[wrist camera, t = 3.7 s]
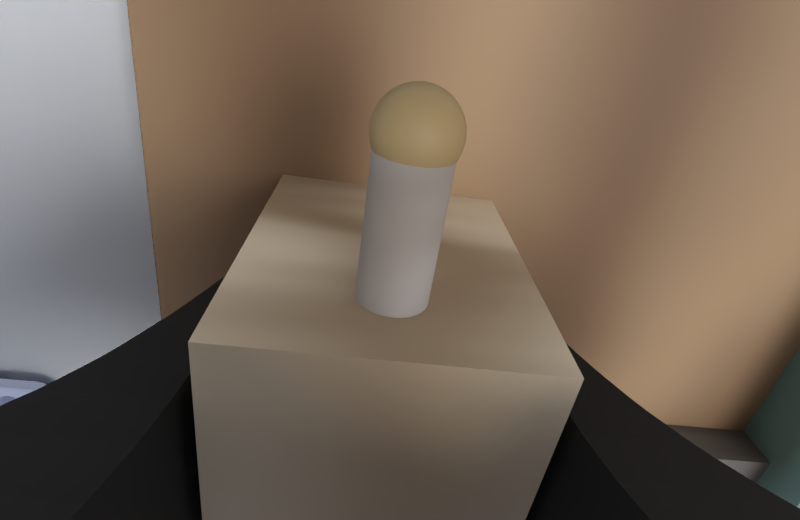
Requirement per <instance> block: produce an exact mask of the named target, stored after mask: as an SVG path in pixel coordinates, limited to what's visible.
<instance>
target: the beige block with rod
mask: <svg viewBox="0 0 800 520" xmlns="http://www.w3.org/2000/svg"><path fill="white" fill-rule="evenodd" d="M466 137H467V125H466V120H465V116H464V113H463V110H462V108H461V106H460V105H459V103H458V101H457V100H456V99H455V98H454V96H452V95H451V94H450V93H449V92H448V91H447V90H445V89H444V88H442V87H440V86H439V85H436V84H434V83H430V82H426V81H411V82H406V83H403V84H400V85H398V86H396V87H394V88H393V89H391V90H390V91H388V92H387V93H386V94H385V95H384V96H383V97H382V98H381V99H380V100H379V102H378V103H377V105H376V107H375V109H374V111H373V113H372V116H371V119H370V124H369V139H370V144H371V148H372V149H371V158H370V167H369V175H368V184H367V185H363V184H355V183H347V182H339V181H331V180H323V179H315V178H307V177H299V176H291V175H282V177H281V179H280V181H279V183H278V184H277V186H276V188H275V190H274V191H273V193H272V195H271V197H270V198H269V200H268V202H267V204H266V205H265V207H264V209H263V211H262V212H261V214H260V216H259V218H258V220H257V221H256V223H255V225H254V227H253V228H252V230H251V232H250V234H249V235H248V237H247V239H246V241H245V242H244V244H243V246H242V248H241V249H240V251H239V253H238V255H237V256H236V258H235V260H234V262H233V264H232V265H231V267H230V269H229V271H228V272H227V274H226V276H225V278H224V279H223V281H222V283H221V285H220V286H219V288H218V290H217V292H216V293H215V295H214V297H213V299H212V301H211V302H210V304H209V306H208V308H207V309H206V311H205V313H204V315H203V316H202V318H201V320H200V322H199V323H198V325H197V327H196V329H195V330H194V332H193V334H192V336H191V338H190V339H189V341H188V348H189V361H190V373H191V386H192V399H193V411H194V424H195V436H196V449H197V462H198V474H199V487H200V499H201V512H202V520H526V517H527V515H528V513H529V510H530V508H531V505H532V503H533V501H534V498H535V496H536V493H537V491H538V489H539V486H540V484H541V481H542V479H543V477H544V474H545V472H546V469H547V467H548V465H549V462H550V460H551V457H552V455H553V453H554V450H555V448H556V445H557V443H558V441H559V438H560V436H561V433H562V431H563V429H564V426H565V424H566V421H567V419H568V417H569V414H570V412H571V409H572V407H573V405H574V402H575V400H576V397H577V395H578V393H579V390H580V388H581V385H582V383H583V381H584V377H583V375H582V373H581V371H580V369H579V368H578V366H577V364H576V362H575V360H574V358H573V356H572V354H571V352H570V350H569V348H568V346H567V344H566V342H565V341H564V339H563V337H562V335H561V333H560V331H559V329H558V327H557V325H556V323H555V321H554V319H553V317H552V315H551V313H550V312H549V310H548V308H547V306H546V304H545V302H544V300H543V298H542V296H541V294H540V292H539V290H538V288H537V286H536V285H535V283H534V281H533V279H532V277H531V275H530V273H529V271H528V269H527V267H526V265H525V263H524V261H523V259H522V258H521V256H520V254H519V252H518V250H517V248H516V246H515V244H514V242H513V240H512V238H511V236H510V234H509V232H508V231H507V229H506V227H505V225H504V223H503V221H502V219H501V217H500V215H499V213H498V211H497V209H496V207H495V205H494V204H493V202H492V201H491V200H483V199H475V198H467V197H459V196H451V195H450V193H451V188H452V183H453V178H454V173H455V168H456V163H457V161H458V159H459V158H460V156H461V154H462V152H463V149H464V146H465V143H466Z"/></svg>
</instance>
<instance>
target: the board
mask: <svg viewBox="0 0 800 520" xmlns="http://www.w3.org/2000/svg"><path fill="white" fill-rule="evenodd" d="M127 6H128V16H129V25H130V34H131V43H132V53H133V62H134V71H135V80H136V89H137V99H138V108H139V117H140V126H141V135H142V145H143V154H144V163H145V172H146V182H147V191H148V200H149V209H150V218H151V228H152V237H153V246H154V255H155V265H156V274H157V283H158V292H159V301H160V311H161V320H163V319H164V318H166V317H167V316H169V315H170V314H172V313H173V312H175V311H176V310H178V309H179V308H181V307H182V306H183V305H185V304H186V303H188V302H189V301H191V300H192V299H193V298H195V297H196V296H198V295H199V294H200V293H202V292H203V291H205V290H206V289H207V288H209V287H210V286H211V285H213V284H214V283H216V282H217V281H218V280H220V279H221V278H223V277H224V276H225V275H226V274H227V272H228V271H229V269H230V267H231V265H232V264H233V262H234V260H235V258H236V256H237V255H238V253H239V251H240V249H241V248H242V246H243V244H244V242H245V241H246V239H247V237H248V235H249V234H250V232H251V230H252V228H253V227H254V225H255V223H256V221H257V220H258V218H259V216H260V214H261V212H262V211H263V209H264V207H265V205H266V204H267V202H268V200H269V198H270V197H271V195H272V193H273V191H274V190H275V188H276V186H277V184H278V183H279V181H280V179H281V177H282V175H291V176H299V177H307V178H315V179H323V180H331V181H339V182H347V183H355V184H363V185H367V184H368V175H369V167H370V158H371V149H372V148H371V144H370V139H369V124H370V119H371V116H372V113H373V111H374V109H375V107H376V105H377V103H378V102H379V100H380V99H381V98H382V97H383V96H384V95H385V94H386V93H387V92H388V91H390V90H391V89H393V88H394V87H396V86H398V85H400V84H403V83H406V82H411V81H426V82H430V83H434V84H436V85H439V86H440V87H442V88H444V89H445V90H447V91H448V92H449V93H450V94H451V95H452V96H454V98H455V99H456V100H457V101H458V103H459V105H460V106H461V108H462V110H463V113H464V116H465V120H466V125H467V137H466V143H465V146H464V149H463V152H462V154H461V156H460V158H459V159H458V161H457V163H456V168H455V173H454V178H453V183H452V188H451V193H450V195H451V196H459V197H467V198H475V199H483V200H491V201H492V202H493V204H494V205H495V207H496V209H497V211H498V213H499V215H500V217H501V219H502V221H503V223H504V225H505V227H506V229H507V231H508V232H509V234H510V236H511V238H512V240H513V242H514V244H515V246H516V248H517V250H518V252H519V254H520V256H521V258H522V259H523V261H524V263H525V265H526V267H527V269H528V271H529V273H530V275H531V277H532V279H533V281H534V283H535V285H536V286H537V288H538V290H539V292H540V294H541V296H542V298H543V300H544V302H545V304H546V306H547V308H548V310H549V312H550V313H551V315H552V317H553V319H554V321H555V323H556V325H557V327H558V329H559V331H560V333H561V335H562V337H563V339H564V341H565V342H566V344H567V345H569V346H570V347H571V348H572V349H573V350H574V351H575V352H576V353H577V354H578V355H580V356H581V357H582V358H583V359H584V360H585V361H586V362H588V363H589V364H590V365H591V366H592V367H593V368H594V369H596V370H597V371H598V372H599V373H600V374H601V375H603V376H604V377H605V378H606V379H608V380H609V381H610V382H611V383H612V384H614V385H615V386H616V387H617V388H619V389H620V390H621V391H622V392H623V393H625V394H626V395H627V396H628V397H630V398H631V399H632V400H633V401H635V402H636V403H637V404H639V405H640V406H641V407H643V408H644V409H645V410H647V411H648V412H649V413H651V414H652V415H653V416H655V417H656V418H658V419H659V420H660V421H662V422H663V423H665V424H666V425H668V426H669V427H670V428H672V429H673V430H675V431H676V432H677V433H679V434H680V435H682V436H683V437H684V438H686V439H687V440H689V441H690V442H692V443H693V444H695V445H696V446H698V447H699V448H701V449H702V450H704V451H705V452H707V453H708V454H710V455H711V456H713V457H714V458H716V459H718V460H719V461H721V462H723V463H724V464H726V465H727V466H729V467H731V468H732V469H734V470H736V471H737V472H739V473H740V474H742V475H744V476H745V477H747V478H748V479H750V480H752V481H753V482H755V483H757V484H758V485H760V486H761V487H763V488H765V489H767V490H768V491H770V492H772V493H773V494H775V495H777V496H779V497H780V498H782V499H784V500H786V501H787V502H789V503H791V504H793V505H794V506H796V507H798V508H800V0H127Z"/></svg>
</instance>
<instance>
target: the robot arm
mask: <svg viewBox="0 0 800 520" xmlns="http://www.w3.org/2000/svg"><path fill="white" fill-rule="evenodd" d="M225 276H226V275H225ZM225 276H224V277H223V278H221V279H220V280H218V281H217V282H216V283H214V284H213V285H211V286H210V287H209V288H207V289H206V290H205V291H203V292H202V293H200V294H199V295H198V296H196V297H195V298H193V299H192V300H191V301H189V302H188V303H186V304H185V305H183V306H182V307H181V308H179V309H178V310H176V311H175V312H173V313H172V314H170V315H169V316H167V317H166V318H164V319H163V320H161V321H159V322H158V323H156V324H155V325H153V326H151V327H150V328H148V329H147V330H145V331H143V332H142V333H140V334H139V335H137V336H135V337H134V338H132V339H131V340H129V341H127V342H126V343H124V344H123V345H121V346H119V347H118V348H116V349H114V350H112V351H111V352H109V353H107V354H105V355H103V356H102V357H100V358H98V359H96V360H94V361H92V362H91V363H89V364H87V365H85V366H83V367H81V368H79V369H77V370H75V371H73V372H71V373H69V374H67V375H65V376H63V377H61V378H59V379H57V380H55V381H53V382H51V383H49V384H45V383H41V382H37V381H25V380H13V379H1V378H0V520H202V512H201V499H200V487H199V474H198V462H197V449H196V436H195V424H194V411H193V399H192V386H191V373H190V361H189V348H188V341H189V339H190V338H191V336H192V334H193V332H194V330H195V329H196V327H197V325H198V323H199V322H200V320H201V318H202V316H203V315H204V313H205V311H206V309H207V308H208V306H209V304H210V302H211V301H212V299H213V297H214V295H215V293H216V292H217V290H218V288H219V286H220V285H221V283H222V281H223V279H224V278H225ZM567 346H568V348H569V350H570V352H571V354H572V356H573V358H574V360H575V362H576V364H577V366H578V368H579V369H580V371H581V373H582V375H583V377H584V381H583V383H582V385H581V388H580V390H579V393H578V395H577V397H576V400H575V402H574V405H573V407H572V409H571V412H570V414H569V417H568V419H567V421H566V424H565V426H564V429H563V431H562V433H561V436H560V438H559V441H558V443H557V445H556V448H555V450H554V453H553V455H552V457H551V460H550V462H549V465H548V467H547V469H546V472H545V474H544V477H543V479H542V481H541V484H540V486H539V489H538V491H537V493H536V496H535V498H534V501H533V503H532V505H531V508H530V510H529V513H528V515H527V517H526V520H800V508H798V507H796V506H794V505H793V504H791V503H789V502H787V501H786V500H784V499H782V498H780V497H779V496H777V495H775V494H773V493H772V492H770V491H768V490H767V489H765V488H763V487H761V486H760V485H758V484H757V483H755V482H753V481H752V480H750V479H748V478H747V477H745V476H744V475H742V474H740V473H739V472H737V471H736V470H734V469H732V468H731V467H729V466H727V465H726V464H724V463H723V462H721V461H719V460H718V459H716V458H714V457H713V456H711V455H710V454H708V453H707V452H705V451H704V450H702V449H701V448H699V447H698V446H696V445H695V444H693V443H692V442H690V441H689V440H687V439H686V438H684V437H683V436H682V435H680V434H679V433H677V432H676V431H675V430H673V429H672V428H670V427H669V426H668V425H666V424H665V423H663V422H662V421H660V420H659V419H658V418H656V417H655V416H653V415H652V414H651V413H649V412H648V411H647V410H645V409H644V408H643V407H641V406H640V405H639V404H637V403H636V402H635V401H633V400H632V399H631V398H630V397H628V396H627V395H626V394H625V393H623V392H622V391H621V390H620V389H619V388H617V387H616V386H615V385H614V384H612V383H611V382H610V381H609V380H608V379H606V378H605V377H604V376H603V375H601V374H600V373H599V372H598V371H597V370H596V369H594V368H593V367H592V366H591V365H590V364H589V363H588V362H586V361H585V360H584V359H583V358H582V357H581V356H580V355H578V354H577V353H576V352H575V351H574V350H573V349H572V348H571V347H570V346H569V345H567Z"/></svg>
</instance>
